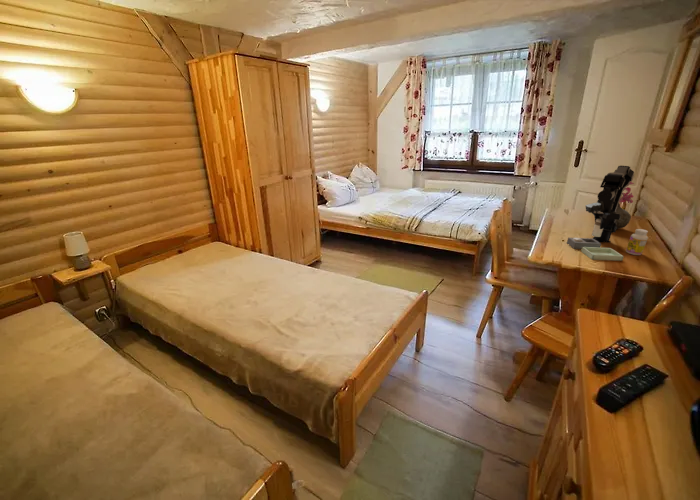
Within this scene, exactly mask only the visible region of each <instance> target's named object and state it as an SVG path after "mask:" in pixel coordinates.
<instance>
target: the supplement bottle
mask: <svg viewBox="0 0 700 500" xmlns="http://www.w3.org/2000/svg"><path fill="white" fill-rule="evenodd" d="M648 232H649V231H648V230H646V229H642V228H636V229H635V232H634V233H632V234H631V235H630V237H629V240H628V242H627V243H628V244H627V247H626V249H625V252H626V253H628V254H629V255H633V256H641V255H642V254H643V251H644V249H645V246H646V244H647V242H648V238H649V237H648V236H647V234H648Z"/></svg>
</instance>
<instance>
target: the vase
mask: <svg viewBox="0 0 700 500" xmlns="http://www.w3.org/2000/svg"><path fill="white" fill-rule="evenodd" d="M634 184H635V183H634V182H633V181H632V182H631V181H630V184H629V185H628V186H627V187H626V188H624V190H623V193H622V195H621V198H620V201H619V204H618V206H617V209H616V213H618V214H620V215H621V217H620V220H616V222H615V223H616V225H617V228H616V230H619V229H623V228H625V227H626V226H628V224H629V223H630V221H631V214H630V213H629V212H628V211H627V210H626V209H624V208H623V207H621V204H620V203H625V202H627V204H633V203H634V200H632V198H634V195H633V192H631V187H629V186H631V185H634ZM624 191H626V192H624ZM611 230H612V229H611Z"/></svg>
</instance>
